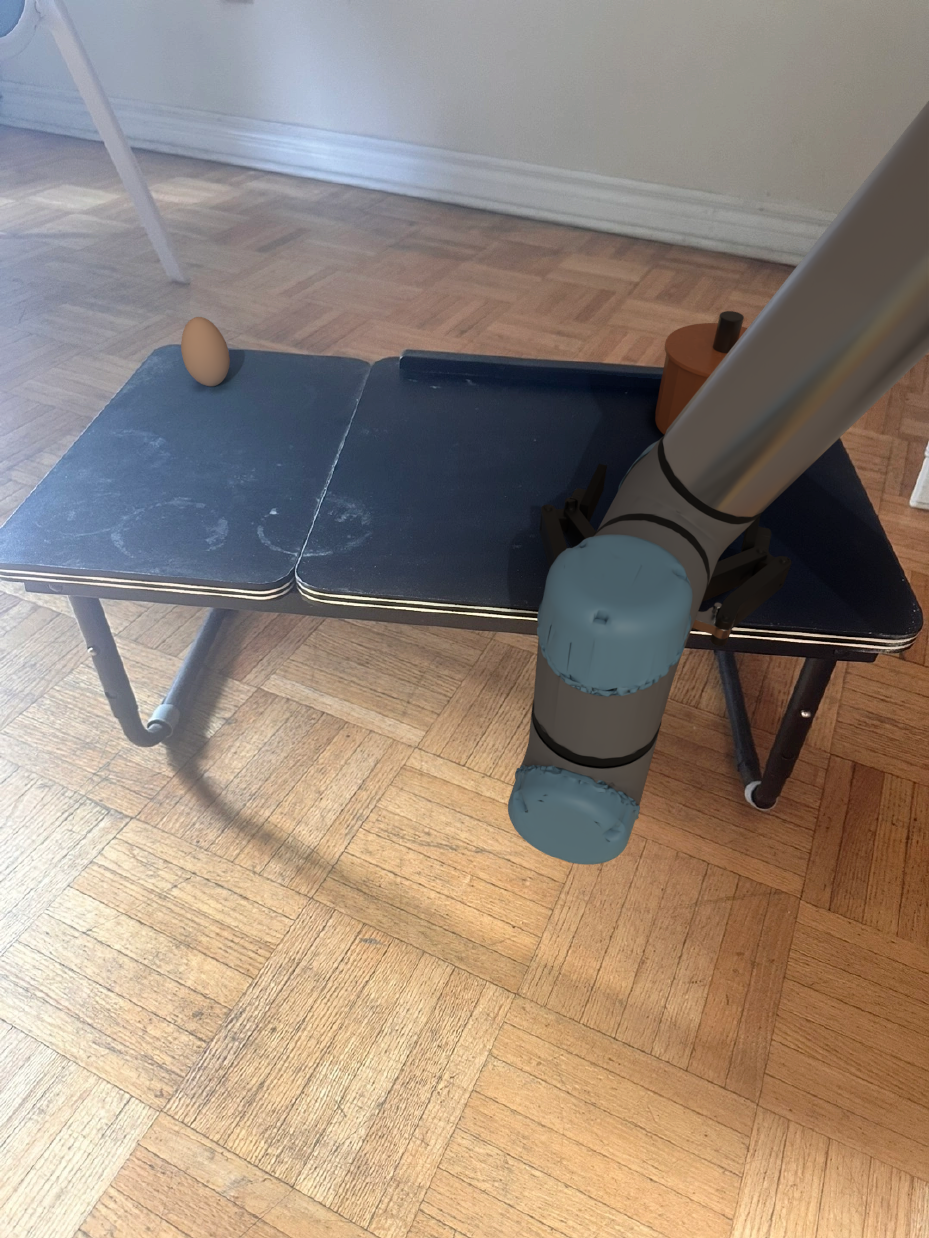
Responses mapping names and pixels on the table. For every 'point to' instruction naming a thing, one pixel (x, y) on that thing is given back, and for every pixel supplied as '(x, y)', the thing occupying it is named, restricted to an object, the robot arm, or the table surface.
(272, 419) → the table surface
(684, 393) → the pot
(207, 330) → the egg
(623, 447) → the table surface
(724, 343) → the pot lid
